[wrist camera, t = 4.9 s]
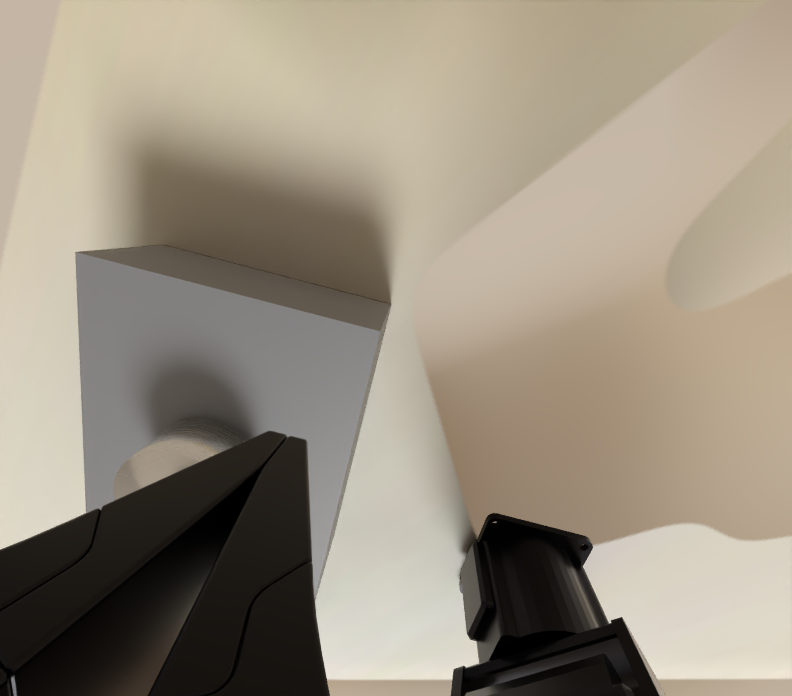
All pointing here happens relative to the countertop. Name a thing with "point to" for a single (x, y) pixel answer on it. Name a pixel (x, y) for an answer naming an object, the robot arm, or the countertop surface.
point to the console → (222, 364)
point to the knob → (174, 453)
